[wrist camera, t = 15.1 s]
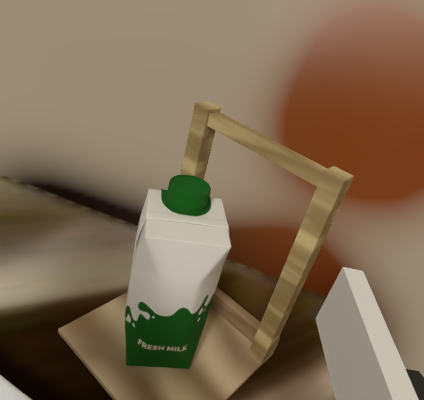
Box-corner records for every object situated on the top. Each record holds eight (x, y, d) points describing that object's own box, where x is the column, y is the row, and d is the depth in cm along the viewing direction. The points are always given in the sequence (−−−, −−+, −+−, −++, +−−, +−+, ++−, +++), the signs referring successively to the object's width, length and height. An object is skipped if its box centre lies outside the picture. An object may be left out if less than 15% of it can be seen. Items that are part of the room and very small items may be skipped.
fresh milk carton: (193, 313, 51) (231, 179, 40) (198, 378, 43) (246, 233, 33) (124, 307, 49) (145, 166, 39) (115, 374, 41) (139, 220, 31)
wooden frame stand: (164, 461, 36) (233, 243, 23) (58, 332, 45) (63, 120, 32) (272, 354, 49) (356, 174, 36) (173, 270, 57) (211, 100, 44)
